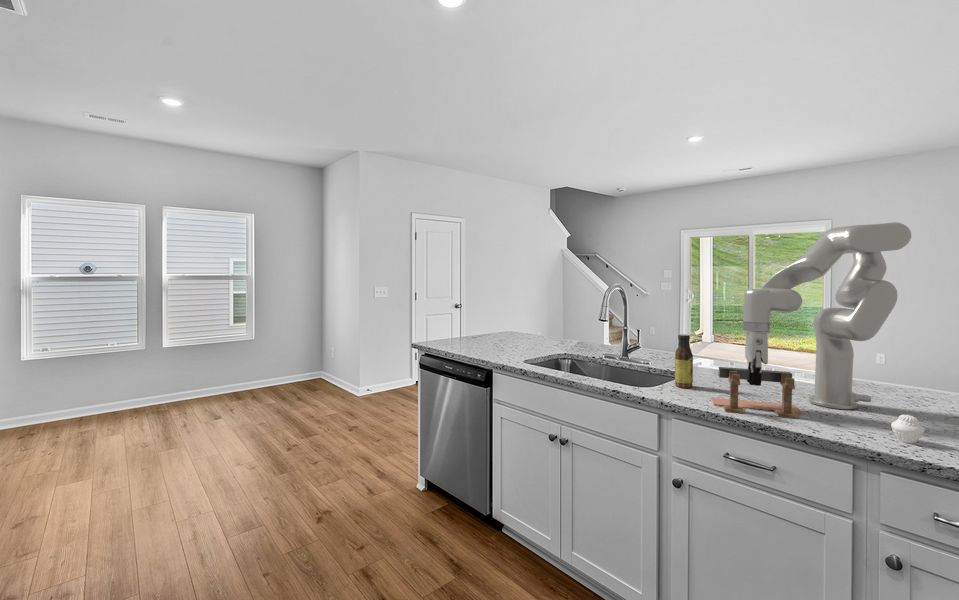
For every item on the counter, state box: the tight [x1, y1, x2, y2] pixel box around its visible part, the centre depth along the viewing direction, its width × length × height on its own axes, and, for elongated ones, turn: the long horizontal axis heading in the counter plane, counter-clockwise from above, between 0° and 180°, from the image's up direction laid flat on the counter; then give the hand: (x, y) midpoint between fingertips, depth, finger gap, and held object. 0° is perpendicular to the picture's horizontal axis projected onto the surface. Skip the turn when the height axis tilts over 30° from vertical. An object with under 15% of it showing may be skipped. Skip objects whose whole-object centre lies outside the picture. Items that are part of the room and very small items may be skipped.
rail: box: [718, 366, 793, 383], centre depth 143 cm, size 20×3×3 cm, turn 68°
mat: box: [711, 397, 803, 414], centre depth 144 cm, size 24×8×1 cm, turn 68°
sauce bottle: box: [674, 333, 694, 389], centre depth 168 cm, size 7×6×20 cm
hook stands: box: [723, 371, 799, 419], centre depth 136 cm, size 19×6×12 cm, turn 68°
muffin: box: [890, 414, 925, 445], centre depth 113 cm, size 6×6×7 cm
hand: (753, 383), depth 143 cm, fingers closed on rail, 3 cm apart
